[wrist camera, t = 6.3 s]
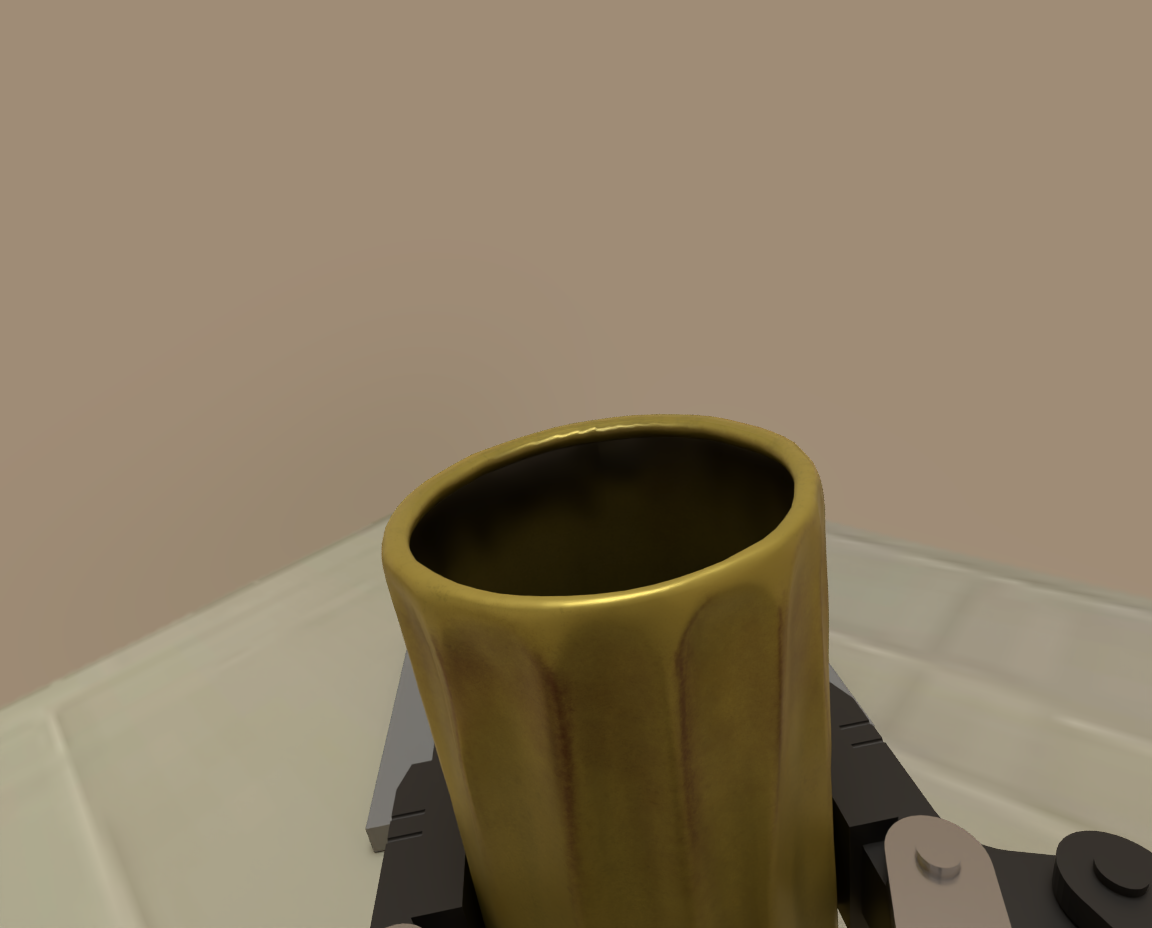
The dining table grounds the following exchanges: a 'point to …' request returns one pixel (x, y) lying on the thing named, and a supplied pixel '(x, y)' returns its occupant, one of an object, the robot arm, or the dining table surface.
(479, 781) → the vase
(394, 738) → the dock
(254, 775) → the dining table surface
